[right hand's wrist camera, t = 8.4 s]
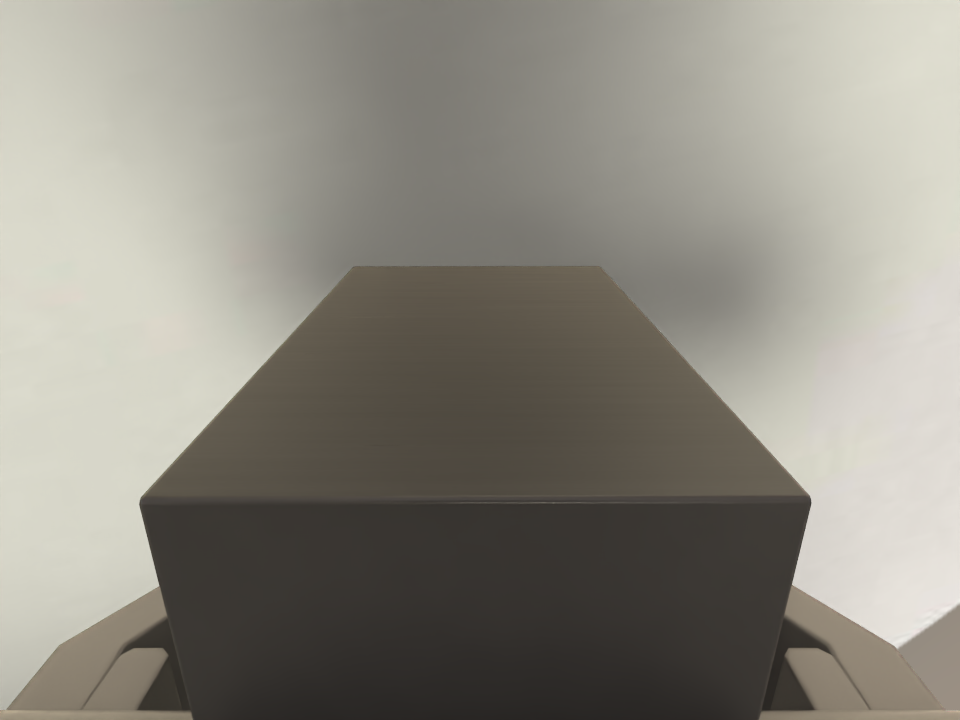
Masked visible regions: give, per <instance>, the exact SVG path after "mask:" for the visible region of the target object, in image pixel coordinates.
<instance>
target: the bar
mask: <svg viewBox="0 0 960 720" xmlns="http://www.w3.org/2000/svg"><path fill="white" fill-rule="evenodd" d="M139 505H140V509H141V513H142V517H143V521H144V525H145V529H146V533H147V537H148V541H149V545H150V549H151V553H152V557H153V561H154V565H155V569H156V573H157V577H158V582H159V586H160V590H161V594H162V598H163V602H164V606H165V610H166V614H167V618H168V622H169V626H170V630H171V634H172V638H173V642H174V646H175V650H176V654H177V658H178V662H179V666H180V670H181V674H182V678H183V682H184V686H185V690H186V694H187V698H188V702H189V706H190V710H191V714H192V718H193V720H759V718H760V714H761V710H762V706H763V701H764V697H765V693H766V689H767V685H768V681H769V677H770V672H771V668H772V664H773V660H774V656H775V652H776V648H777V643H778V639H779V635H780V631H781V627H782V623H783V619H784V614H785V610H786V606H787V602H788V598H789V594H790V590H791V585H792V581H793V577H794V573H795V569H796V565H797V561H798V556H799V552H800V548H801V544H802V540H803V536H804V532H805V527H806V523H807V519H808V515H809V511H810V507H811V498H810V496H809V495H808V493H807V492H806V491H805V490H804V489H803V488H802V487H801V486H800V485H799V484H798V482H797V481H796V480H795V479H794V478H793V477H792V476H791V475H790V474H789V473H788V472H787V470H786V469H785V468H784V467H783V466H782V465H781V464H780V463H779V462H778V461H777V459H776V458H775V457H774V456H773V455H772V454H771V453H770V452H769V451H768V450H767V449H766V447H765V446H764V445H763V444H762V443H761V442H760V441H759V440H758V439H757V438H756V436H755V435H754V434H753V433H752V432H751V431H750V430H749V429H748V428H747V427H746V426H745V424H744V423H743V422H742V421H741V420H740V419H739V418H738V417H737V416H736V415H735V413H734V412H733V411H732V410H731V409H730V408H729V407H728V406H727V405H726V404H725V403H724V401H723V400H722V399H721V398H720V397H719V396H718V395H717V394H716V393H715V392H714V390H713V389H712V388H711V387H710V386H709V385H708V384H707V383H706V382H705V381H704V380H703V378H702V377H701V376H700V375H699V374H698V373H697V372H696V371H695V370H694V369H693V367H692V366H691V365H690V364H689V363H688V362H687V361H686V360H685V359H684V358H683V357H682V355H681V354H680V353H679V352H678V351H677V350H676V349H675V348H674V347H673V346H672V344H671V343H670V342H669V341H668V340H667V339H666V338H665V337H664V336H663V335H662V334H661V332H660V331H659V330H658V329H657V328H656V327H655V326H654V325H653V324H652V323H651V322H650V320H649V319H648V318H647V317H646V316H645V315H644V314H643V313H642V312H641V311H640V309H639V308H638V307H637V306H636V305H635V304H634V303H633V302H632V301H631V300H630V299H629V297H628V296H627V295H626V294H625V293H624V292H623V291H622V290H621V289H620V288H619V286H618V285H617V284H616V283H615V282H614V281H613V280H612V279H611V278H610V277H609V276H608V274H607V273H606V272H605V271H604V270H603V269H602V268H601V267H600V266H355V267H353V268H352V269H351V270H350V271H349V272H348V273H347V275H346V276H345V277H344V278H343V279H342V280H341V281H340V282H339V283H338V284H337V285H336V286H335V288H334V289H333V290H332V291H331V292H330V293H329V294H328V295H327V296H326V297H325V298H324V299H323V301H322V302H321V303H320V304H319V305H318V306H317V307H316V308H315V309H314V310H313V311H312V312H311V314H310V315H309V316H308V317H307V318H306V319H305V320H304V321H303V322H302V323H301V324H300V325H299V327H298V328H297V329H296V330H295V331H294V332H293V333H292V334H291V335H290V336H289V337H288V339H287V340H286V341H285V342H284V343H283V344H282V345H281V346H280V347H279V348H278V349H277V350H276V352H275V353H274V354H273V355H272V356H271V357H270V358H269V359H268V360H267V361H266V362H265V363H264V365H263V366H262V367H261V368H260V369H259V370H258V371H257V372H256V373H255V374H254V375H253V376H252V378H251V379H250V380H249V381H248V382H247V383H246V384H245V385H244V386H243V387H242V388H241V389H240V391H239V392H238V393H237V394H236V395H235V396H234V397H233V398H232V399H231V400H230V401H229V403H228V404H227V405H226V406H225V407H224V408H223V409H222V410H221V411H220V412H219V413H218V414H217V416H216V417H215V418H214V419H213V420H212V421H211V422H210V423H209V424H208V425H207V426H206V427H205V429H204V430H203V431H202V432H201V433H200V434H199V435H198V436H197V437H196V438H195V439H194V440H193V442H192V443H191V444H190V445H189V446H188V447H187V448H186V449H185V450H184V451H183V452H182V454H181V455H180V456H179V457H178V458H177V459H176V460H175V461H174V462H173V463H172V464H171V465H170V467H169V468H168V469H167V470H166V471H165V472H164V473H163V474H162V475H161V476H160V477H159V478H158V480H157V481H156V482H155V483H154V484H153V485H152V486H151V487H150V488H149V489H148V490H147V491H146V493H145V494H144V495H143V496H142V497H141V499H140V504H139Z"/></svg>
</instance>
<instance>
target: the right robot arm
mask: <svg viewBox="0 0 960 720" xmlns="http://www.w3.org/2000/svg"><path fill="white" fill-rule="evenodd" d="M0 720H193V718H192V714H191V710H190V706H189V702H188V698H187V694H186V690H185V686H184V682H183V678H182V674H181V670H180V666H179V662H178V658H177V654H176V650H175V646H174V642H173V638H172V634H171V630H170V626H169V622H168V618H167V614H166V610H165V606H164V602H163V598H162V594H161V590H160V586H159V587H157V588H155V589H154V590H152V591H150V592H149V593H147V594H145V595H144V596H142V597H140V598H139V599H137V600H135V601H133V602H132V603H130V604H128V605H127V606H125V607H123V608H122V609H120V610H118V611H117V612H115V613H113V614H112V615H110V616H108V617H106V618H105V619H103V620H101V621H100V622H98V623H96V624H95V625H93V626H91V627H90V628H88V629H86V630H84V631H83V632H81V633H79V634H78V635H76V636H74V637H73V638H71V639H69V640H68V641H66V642H64V643H62V644H61V645H59V646H58V648H57V649H56V650H55V651H54V652H53V654H52V655H51V656H50V657H49V658H48V660H47V661H46V662H45V663H44V665H43V666H42V667H41V668H40V669H39V671H38V672H37V673H36V674H35V675H34V677H33V678H32V679H31V680H30V682H29V683H28V684H27V685H26V686H25V688H24V689H23V690H22V691H21V692H20V694H19V695H18V696H17V697H16V699H15V700H14V701H13V702H12V703H11V705H10V706H9V707H8V708H7V709H6V710H0ZM759 720H960V710H945V709H944V707H943V706H942V705H941V704H940V702H939V701H938V700H937V699H936V697H935V696H934V695H933V694H932V692H931V691H930V690H929V689H928V687H927V686H926V685H925V684H924V682H923V681H922V680H921V679H920V678H919V676H918V675H917V674H916V672H915V671H914V670H913V669H912V668H911V666H910V665H909V664H908V662H907V661H906V660H905V659H904V658H903V656H902V655H901V654H900V653H899V651H898V650H897V649H896V648H895V646H893V645H891V644H890V643H888V642H886V641H885V640H883V639H881V638H880V637H878V636H876V635H875V634H873V633H871V632H870V631H868V630H866V629H865V628H863V627H861V626H860V625H858V624H856V623H855V622H853V621H851V620H850V619H848V618H846V617H845V616H843V615H841V614H840V613H838V612H836V611H835V610H833V609H831V608H830V607H828V606H826V605H825V604H823V603H821V602H820V601H818V600H816V599H815V598H813V597H811V596H810V595H808V594H806V593H805V592H803V591H801V590H800V589H798V588H796V587H795V586H793V585H791V590H790V594H789V598H788V602H787V606H786V610H785V614H784V619H783V623H782V627H781V631H780V635H779V639H778V643H777V648H776V652H775V656H774V660H773V664H772V668H771V672H770V677H769V681H768V685H767V689H766V693H765V697H764V701H763V706H762V710H761V714H760V718H759Z"/></svg>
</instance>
